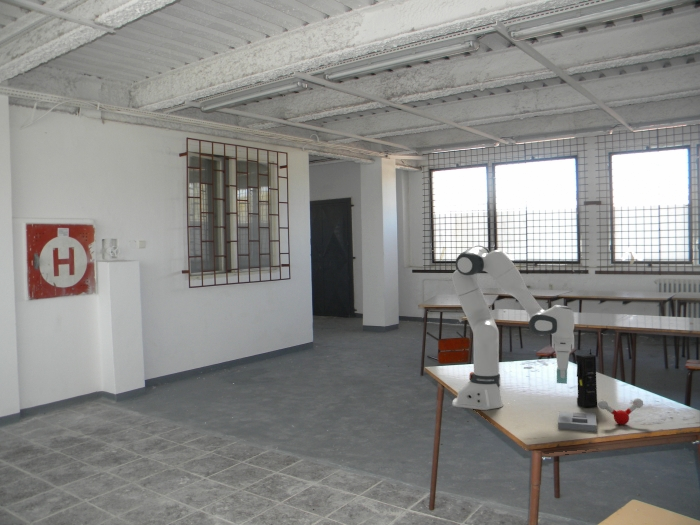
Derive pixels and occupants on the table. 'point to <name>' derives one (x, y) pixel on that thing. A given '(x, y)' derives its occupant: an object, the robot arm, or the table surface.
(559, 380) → the block
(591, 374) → the portable radio
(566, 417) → the outlet plate
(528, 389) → the table surface
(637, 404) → the molecular model
